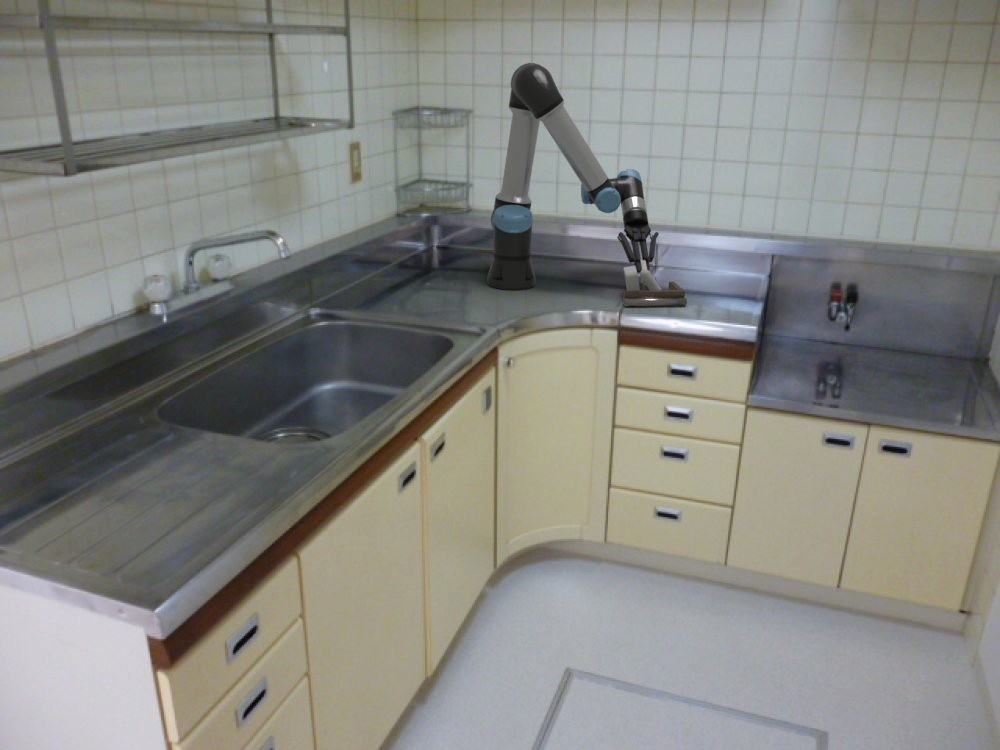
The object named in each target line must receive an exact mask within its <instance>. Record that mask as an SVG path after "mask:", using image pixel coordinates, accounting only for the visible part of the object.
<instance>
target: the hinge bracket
mask: <svg viewBox="0 0 1000 750" xmlns="http://www.w3.org/2000/svg"><path fill="white" fill-rule="evenodd" d="M685 295H686V290H684V289H683V288H682V287H680V285H678V284H677V283H676V281H669V282H668V289H666V290H665V289H662V290H649V289H648V290H645V289H644V290H643V289H642V290H641V289H640V290H639V291H627V290H623V297H622V304H623V303H624V304H625V305H626V306H647V307H686V306H687V302H688V300H687V297H685ZM625 305H624V306H625Z"/></svg>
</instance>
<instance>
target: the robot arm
mask: <svg viewBox="0 0 1000 750" xmlns="http://www.w3.org/2000/svg"><path fill="white" fill-rule="evenodd" d="M510 88H511V90H510V97H509V103H508V108H509V110H510V111H511V113H512V117H511V123H510V128H509V129H510V130H509V137H508V142H507V143H508V144H507V151H506V157H505V163H504V170H503V177H502V183H501V190H500V192H499V193H497V194H496V195H495V200H494V206H493V210H492V212H491V216H490V223H491V224H490V226H491V228H492V232H493V249H492V250H493V257H492V260H491V264H490V267H489V270H488V274H487V276H486V278H487V279H486V283H487V285H489V286H490V287H492V288H494V289H495V288H496V289H500V290H506V291H507V290H511V291H512V290H513V291H516V290H518V291H519V290H526V289H527V290H528V289H531V288H534V286H535V285H536V274H535V270H534V267H533V264H532V257H531V255H532V237H533V236H532V235H533V234H532V232H533V230H532V229H533V228H532V226H533V223H534V221H533V220H534V218H533V213H532V211H531V209H532V208H531V207H532V199H531V198H530V197H529V191H530V190H529V189H530V183H531V179H532V178H531V177H532V172H533V165H534V161H535V160H534V158H535V153H536V146H537V140H538V135H539V134H538V133H539V128H540V123H541V122H542V124H543V126H544V127H545V129H546V130H547V132H548V134H549V135H550V137H551V138H552V139H553V141H554V142H555V145H556V146H557V147H558V149H559V150H560V153H562V155H563V156H564V158H565V160H566V161H567V162H568V164H569V166H570V168H571V169H572V170H573V172H574V173H575V175H576V177H577V178H578V181H579V182H580V183H581V184H580V195H581V202H582V203H583V204H584V205H595V207H596V208H597V210H598V211H599V212H601V213H604V214H612V213H614V212H616V211H617V210H618V208H619V207H620V208H621V213H622V221H623V227H624V229H623V231H620V232H619V233H618V235H617V237H616V239H617V240H618V241H619V242H620V243H621V246H622V248H623V250H624V253H625V255H626V257H627V259H628V262H629V263H633V264H634V265H635V268H636V270H637V274H640V272H641V271H642V270H643V269H647V270H648V271H649V272H650V270H651V266H650V263H652V262H653V261H654V258H655V255H656V254H655V253H656V245H657V243H656V242H657V239H658V236H659V232H658V231H656V232H654V231H652V229H651V227H650V226H649V220H648V219H649V218H648V213H647V208H646V201H645V195H644V190H643V189H644V186H643V182H642V177H641V175H640V173H639V171H638V170H637V169H634V168H627V169H625V170H622V171H620V172H619V173H618V174H617V176H616V177H613V178H609V177H608V175H607V174H606V171H605V170H604V169H603V167H602V165H601V164H600V162H599V161H598V159H597V157H596V156H595V154H594V152H593V151H592V150H591V148H590V146H589V145H588V143H587V141H586V140H585V138H584V137H583V135H582V134H581V132H580V130H579V129H578V127H577V125H576V123H574V120H573V119H572V117H571V116H570V114H569V113H568V111H567V109H566V108H565V106H564V103H565V99H564V98H563V96H562V95H561V93H560V91H559V89H558V86H557V85H556V83H555V81H554V78H553V76H552V74H551V72H550V71H549V70H548V69H547V68H546V67H544V66H543V65H541V64H537V63H534V62H527V63H524V64H521V65H520V66H518V68H516V69H515V70H514V72H513V74H512V76H511V79H510ZM648 237H649V239H650V242H649V249H648V245H647V238H648ZM629 241H630V242H629ZM630 244H631V245H630ZM631 246H632V248H631ZM640 251H641V252H640ZM634 265H633V266H634ZM640 281H641V282H640V283H641V284H645V283H644V281H643V280H642V278H640Z"/></svg>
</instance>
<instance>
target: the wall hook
mask: <svg viewBox="0 0 1000 750" xmlns="http://www.w3.org/2000/svg"><path fill="white" fill-rule="evenodd" d="M622 270H623V275H624V281H625V287H626V291H639V290H641V288H640V283H639V281H640V280H639V279H641V278H642V280H643V281H644V283H643V284H645V286H646V287H647V288H648V290H663V289H662V287H661V286H660V285H659V283H658V282H657V280H656V279H655V278H654V276H653V274H652V273H651V272H650V270H649V271H648V270H647V269H643V270H642V271H641V272H640V273H637V270H636V265H631V266H623V269H622Z"/></svg>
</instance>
